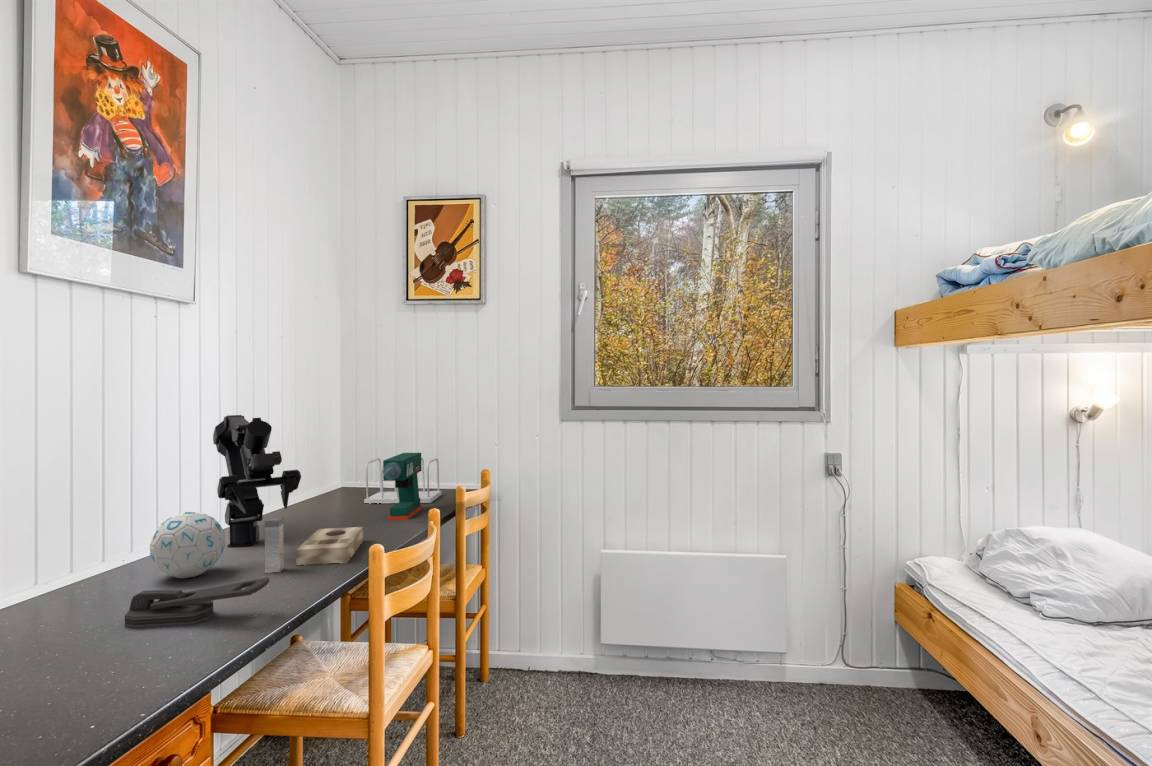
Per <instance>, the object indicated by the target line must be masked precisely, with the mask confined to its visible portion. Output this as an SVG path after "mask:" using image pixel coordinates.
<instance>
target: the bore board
mask: <svg viewBox="0 0 1152 766" xmlns="http://www.w3.org/2000/svg"><path fill="white" fill-rule="evenodd" d="M363 542H364V527H363V526H356V527H355V526H353V527H331V528H330V527H329V528H318V529H316V531H314V533H313V534H311V536H309V537H308V538H307V539H306V540H305V541H304V542H303V543H302V544H301V545H300V546H299V547H298V548H297V549H296V550H295V557H296V558H295V559H296V561H295V562H296V564H295V565H301V564H322V565H326V564H325V563H340V564H348V563H347V562H349V561H350V560H351V559H350V558H352V557H353V556H354V554H355V553H356V552H357V551H358V549H359V547H360V546H361V545H362V543H363ZM360 544H361V545H360ZM355 551H356V552H355Z"/></svg>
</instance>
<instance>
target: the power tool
mask: <svg viewBox="0 0 1152 766" xmlns="http://www.w3.org/2000/svg"><path fill="white" fill-rule="evenodd" d="M421 458H422V452H402V453H399V454H397V455H395V456H392V457H391V456H390V457H389V458H387V459H383V461H382V463H383V482H386V481H388V482H393V481H394V489H395V488H396V489H397V488H398V493H399V503H395V504H394V505H392V506H391V507H389V515H388V516H387V520H388V521H408V520H409V519H411V518H412V517H413V516H414V515H416V514H417V513H418V512H420V511H421V510H423V505H421V504H422V503H420V498H419V491H420V490H419V479H418V473H420V472H423V470H422V460H421Z"/></svg>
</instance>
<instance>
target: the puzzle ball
mask: <svg viewBox="0 0 1152 766" xmlns="http://www.w3.org/2000/svg"><path fill="white" fill-rule="evenodd" d="M225 547H226V534H225V531H224V529H223V527H222V525H221V524H220V522H218V520H216V519H215V518H214V517H212V516H210V515H208V514H206V513H201V512H197V511H194V512H193V511H185V512H181V513H178V514H177V515H174V516H170V517H169V518H168V519H166V520H164V521H163V522H162V523H161V524H160V526H159V527H158V528H156V530H155V531H154V533H153V536H152V538H151V540H150V543H149V555H150V558H151V561H152V563H153V565H154V567H156V569H158V571H160V572H162V573H164V574H166V575H168V576H170V577H174V578H175V579H189V578H195V577H197V576H200V575H202V574H204V573H205V572H206V571H207V570H209V569H211V568H212V567H213V566H215V564H216V563H218V562H219V560H220V558H221V557H222V555H223V553H224V550H225Z"/></svg>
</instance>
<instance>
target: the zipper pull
mask: <svg viewBox="0 0 1152 766" xmlns="http://www.w3.org/2000/svg"><path fill="white" fill-rule="evenodd" d="M269 583H270V578H269V577H263V578H262V577H261V578H257V579H252V580H247V581H246V580H245V581H240V582H235V583H229V584H224V585H218V586H214V587H213V586H212V587H207V588H202V589H197V590H196V589H195V590H190V591H184V592H183V590H181V589H151V590H142V591H140V592H138V593H137V594H135V595H133V596H132V598H131V600H130V601H131V602H130V605H129V609H128V611H127V612H126V613H125V614H124V627H126V628H131V629H143V628H144V629H147V628H161V627H174V626H175V627H176V626H191V625H192V624H194V625H196V623H197V624H199V623H202V622H204V620H205V621H208V620H209V619H211V618H213V616H214V601H217V600H219V601H220V600H224V599H225V600H226V599H231V598H232V599H233V598H240V597H244V596H245V597H247V596H251V595H253V594H255V593H258V592H259V591H261V590H262V589H264V588H265V587H266V586H267V585H268V584H269ZM210 617H211V618H210ZM207 619H208V620H207ZM192 626H193V625H192Z"/></svg>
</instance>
